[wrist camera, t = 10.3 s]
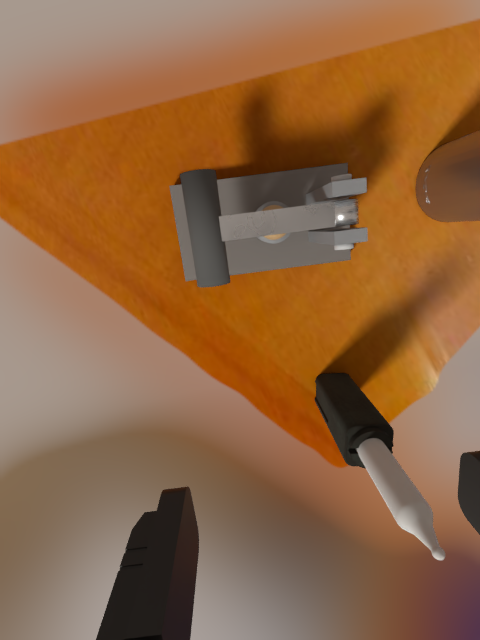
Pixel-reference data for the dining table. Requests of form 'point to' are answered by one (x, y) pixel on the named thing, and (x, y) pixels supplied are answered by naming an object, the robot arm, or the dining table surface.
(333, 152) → the dining table surface
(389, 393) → the dining table surface
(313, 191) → the base
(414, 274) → the dining table surface
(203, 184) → the lever
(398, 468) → the black and grey rod
